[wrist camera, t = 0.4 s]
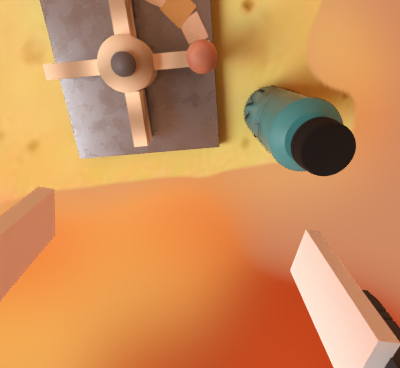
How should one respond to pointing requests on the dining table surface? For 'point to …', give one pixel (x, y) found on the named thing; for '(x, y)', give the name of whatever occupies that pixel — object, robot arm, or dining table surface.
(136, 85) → the capstan
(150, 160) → the dining table surface
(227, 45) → the dining table surface
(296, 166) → the beverage bottle
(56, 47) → the stand
